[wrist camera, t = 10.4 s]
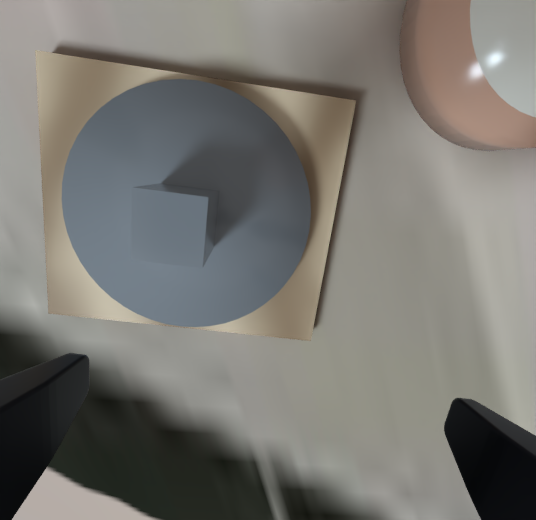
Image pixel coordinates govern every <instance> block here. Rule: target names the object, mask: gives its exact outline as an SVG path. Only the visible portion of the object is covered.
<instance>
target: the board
mask: <svg viewBox="0 0 536 520" xmlns="http://www.w3.org/2000/svg"><path fill="white" fill-rule="evenodd" d="M35 53H36V73H37V93H38V113H39V133H40V153H41V173H42V193H43V213H44V233H45V253H46V273H47V293H48V313H49V314H58V315H68V316H77V317H87V318H96V319H106V320H116V321H125V322H135V323H144V324H154V325H163V326H173V327H181V326H175V325H169V324H164V323H161V322H157V321H154V320H151V319H148V318H146V317H143V316H141V315H138V314H136V313H135V312H133V311H131V310H129V309H127V308H126V307H124V306H123V305H121V304H120V303H118V302H117V301H116V300H114V299H113V298H111V297H110V296H109V295H108V294H107V293H106V292H105V291H104V290H103V289H101V288H100V287H99V286H98V284H97V283H96V282H95V281H94V280H93V279H92V278H91V276H90V275H89V274H88V272H87V271H86V269H85V268H84V267H83V265H82V264H81V262H80V260H79V258H78V257H77V255H76V253H75V251H74V249H73V247H72V244H71V241H70V239H69V236H68V233H67V230H66V226H65V221H64V217H63V209H62V181H63V175H64V169H65V165H66V162H67V159H68V155H69V152H70V150H71V148H72V146H73V144H74V142H75V140H76V138H77V135H78V134H79V133H80V131H81V130H82V128H83V127H84V125H85V124H86V123H87V121H88V120H89V119H90V118H91V117H92V116H93V115H94V114H95V113H96V112H97V111H98V110H99V109H100V108H101V107H102V106H103V105H105V104H106V103H107V102H109V101H110V100H111V99H112V98H114V97H116V96H118V95H120V94H121V93H123V92H125V91H127V90H129V89H132V88H134V87H137V86H140V85H142V84H145V83H150V82H155V81H159V80H170V79H187V80H198V81H203V82H207V83H211V84H216V85H218V86H221V87H224V88H226V89H229V90H232V91H234V92H235V93H237V94H239V95H241V96H243V97H245V98H247V99H248V100H250V101H251V102H252V103H254V104H255V105H257V106H258V107H259V108H261V109H262V110H263V111H264V112H265V113H266V114H267V115H269V116H270V117H271V118H272V119H273V120H274V121H275V122H276V123H277V125H278V126H279V127H280V128H281V130H282V131H283V132H284V133H285V135H286V136H287V137H288V139H289V140H290V142H291V144H292V145H293V147H294V149H295V150H296V152H297V154H298V157H299V159H300V161H301V164H302V166H303V169H304V172H305V175H306V179H307V182H308V187H309V194H310V203H311V219H310V228H309V234H308V238H307V243H306V247H305V249H304V252H303V254H302V257H301V260H300V262H299V264H298V265H297V267H296V269H295V271H294V273H293V274H292V276H291V277H290V279H289V280H288V281H287V283H286V284H285V285H284V286H283V288H282V289H281V290H280V291H279V292H278V293H277V294H276V295H275V296H274V297H273V298H272V299H270V300H269V301H268V302H267V303H265V304H264V305H263V306H261V307H260V308H258V309H257V310H255V311H253V312H252V313H250V314H248V315H246V316H243V317H241V318H239V319H236V320H233V321H230V322H227V323H224V324H219V325H213V326H205V327H183V328H192V329H202V330H211V331H221V332H230V333H240V334H249V335H259V336H269V337H278V338H288V339H297V340H307V341H311V337H312V332H313V327H314V321H315V316H316V311H317V306H318V300H319V295H320V290H321V284H322V279H323V274H324V268H325V263H326V258H327V253H328V247H329V242H330V237H331V231H332V226H333V221H334V215H335V210H336V205H337V200H338V194H339V189H340V184H341V178H342V173H343V168H344V163H345V157H346V152H347V147H348V141H349V136H350V131H351V125H352V120H353V115H354V110H355V104H356V100H350V99H343V98H337V97H330V96H324V95H318V94H311V93H305V92H299V91H292V90H286V89H279V88H273V87H267V86H260V85H254V84H248V83H241V82H235V81H228V80H222V79H216V78H209V77H203V76H197V75H190V74H184V73H177V72H171V71H165V70H158V69H152V68H146V67H139V66H133V65H126V64H120V63H114V62H107V61H101V60H95V59H88V58H82V57H75V56H69V55H63V54H56V53H50V52H44V51H37V50H35Z"/></svg>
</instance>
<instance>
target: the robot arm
mask: <svg viewBox="0 0 536 520" xmlns="http://www.w3.org/2000/svg"><path fill="white" fill-rule="evenodd" d="M88 389H89V358H88V357H87V356H86V355H83V354H74V353H68V354H65V355H63V356H60V357H58V358H55V359H53V360H50V361H47V362H45V363H42V364H40V365H37V366H35V367H32V368H29V369H27V370H24V371H22V372H19V373H17V374H14V375H11V376H9V377H6V378H4V379H1V380H0V520H12V518H13V517H14V515H15V514H16V512H17V511H18V509H19V508H20V506H21V505H22V503H23V502H24V500H25V499H26V497H27V496H28V494H29V493H30V491H31V490H32V488H33V487H34V485H35V484H36V482H37V481H38V479H39V478H40V476H41V475H42V473H43V472H44V470H45V469H46V467H47V466H48V464H49V463H50V461H51V459H52V458H53V456H54V454H55V453H56V451H57V449H58V447H59V445H60V444H61V442H62V440H63V438H64V436H65V434H66V432H67V431H68V429H69V427H70V425H71V423H72V421H73V419H74V418H75V416H76V414H77V412H78V410H79V408H80V407H81V405H82V403H83V401H84V399H85V397H86V395H87V393H88ZM444 431H445V435H446V438H447V441H448V443H449V446H450V448H451V450H452V453H453V455H454V458H455V460H456V463H457V465H458V468H459V470H460V473H461V475H462V478H463V480H464V483H465V485H466V488H467V490H468V492H469V495H470V497H471V499H472V502H473V504H474V506H475V508H476V510H477V512H478V514H479V516H480V518H481V520H536V436H535V435H533V434H532V433H530V432H528V431H526V430H525V429H523V428H521V427H519V426H518V425H516V424H514V423H513V422H511V421H509V420H507V419H506V418H504V417H502V416H500V415H499V414H497V413H495V412H494V411H492V410H490V409H488V408H487V407H485V406H483V405H481V404H480V403H478V402H476V401H474V400H472V399H464V398H456V399H454V400H453V402H452V404H451V407H450V410H449V413H448V416H447V418H446V421H445V425H444Z"/></svg>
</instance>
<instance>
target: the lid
mask: <svg viewBox="0 0 536 520" xmlns="http://www.w3.org/2000/svg"><path fill="white" fill-rule="evenodd" d="M62 209H63V217H64V221H65V226H66V230H67V233H68V236H69V239H70V241H71V244H72V247H73V249H74V251H75V253H76V255H77V257H78V258H79V260H80V262H81V264H82V265H83V267H84V268H85V269H86V271H87V272H88V274H89V275H90V276H91V278H92V279H93V280H94V281H95V282H96V283H97V284H98V286H99V287H100V288H101V289H103V290H104V291H105V292H106V293H107V294H108V295H109V296H110V297H111V298H113V299H114V300H116V301H117V302H118V303H120V304H121V305H123V306H124V307H126V308H127V309H129V310H131V311H133V312H135V313H136V314H138V315H141V316H143V317H146V318H148V319H151V320H154V321H157V322H161V323H164V324H169V325H175V326H181V327H205V326H213V325H219V324H224V323H227V322H230V321H233V320H236V319H239V318H241V317H243V316H246V315H248V314H250V313H252V312H253V311H255V310H257V309H258V308H260V307H261V306H263V305H264V304H265V303H267V302H268V301H269V300H270V299H272V298H273V297H274V296H275V295H276V294H277V293H278V292H279V291H280V290H281V289H282V288H283V286H284V285H285V284H286V283H287V281H288V280H289V279H290V277H291V276H292V274H293V273H294V271H295V269H296V267H297V265H298V264H299V262H300V260H301V257H302V254H303V252H304V249H305V247H306V243H307V238H308V234H309V228H310V219H311V203H310V194H309V187H308V182H307V179H306V175H305V172H304V169H303V166H302V164H301V161H300V159H299V157H298V154H297V152H296V150H295V149H294V147H293V145H292V144H291V142H290V140H289V139H288V137H287V136H286V135H285V133H284V132H283V131H282V130H281V128H280V127H279V126H278V125H277V123H276V122H275V121H274V120H273V119H272V118H271V117H270V116H269V115H267V114H266V113H265V112H264V111H263V110H262V109H261V108H259V107H258V106H257V105H255V104H254V103H252V102H251V101H250V100H248V99H247V98H245V97H243V96H241V95H239V94H237V93H235V92H234V91H232V90H229V89H226V88H224V87H221V86H218V85H216V84H211V83H207V82H203V81H198V80H187V79H170V80H159V81H155V82H150V83H145V84H142V85H140V86H137V87H134V88H132V89H129V90H127V91H125V92H123V93H121V94H120V95H118V96H116V97H114V98H112V99H111V100H110V101H109V102H107V103H106V104H105V105H103V106H102V107H101V108H100V109H99V110H98V111H97V112H96V113H95V114H94V115H93V116H92V117H91V118H90V119H89V120H88V121H87V123H86V124H85V125H84V127H83V128H82V130H81V131H80V133H79V134H78V135H77V138H76V140H75V142H74V144H73V146H72V148H71V150H70V152H69V155H68V159H67V162H66V165H65V169H64V175H63V181H62Z"/></svg>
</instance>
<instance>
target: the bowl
mask: <svg viewBox="0 0 536 520" xmlns="http://www.w3.org/2000/svg"><path fill="white" fill-rule="evenodd" d="M400 63H401V70H402V75H403V80H404V83H405V86H406V89H407V92H408V95H409V97H410V99H411V101H412V103H413V105H414V107H415V109H416V110H417V112H418V113H419V115H420V116H421V118H422V119H423V120H424V121H425V122H426V124H427V125H428V126H429V127H430V128H431V129H432V130H434V131H435V132H436V133H437V134H439V135H440V136H441V137H443V138H444V139H446V140H448V141H450V142H451V143H454V144H456V145H459V146H461V147H464V148H469V149H473V150H482V151H496V150H510V149H523V148H536V0H407V3H406V6H405V10H404V14H403V19H402V25H401V32H400Z"/></svg>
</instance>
